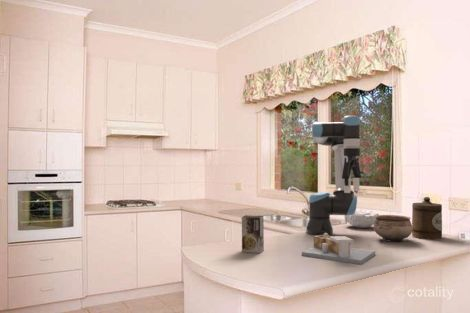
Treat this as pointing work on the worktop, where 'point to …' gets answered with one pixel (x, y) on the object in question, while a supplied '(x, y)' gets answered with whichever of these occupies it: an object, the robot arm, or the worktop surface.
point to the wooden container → (427, 220)
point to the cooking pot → (393, 227)
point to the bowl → (361, 219)
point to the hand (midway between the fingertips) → (351, 191)
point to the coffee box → (252, 234)
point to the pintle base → (340, 251)
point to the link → (331, 244)
